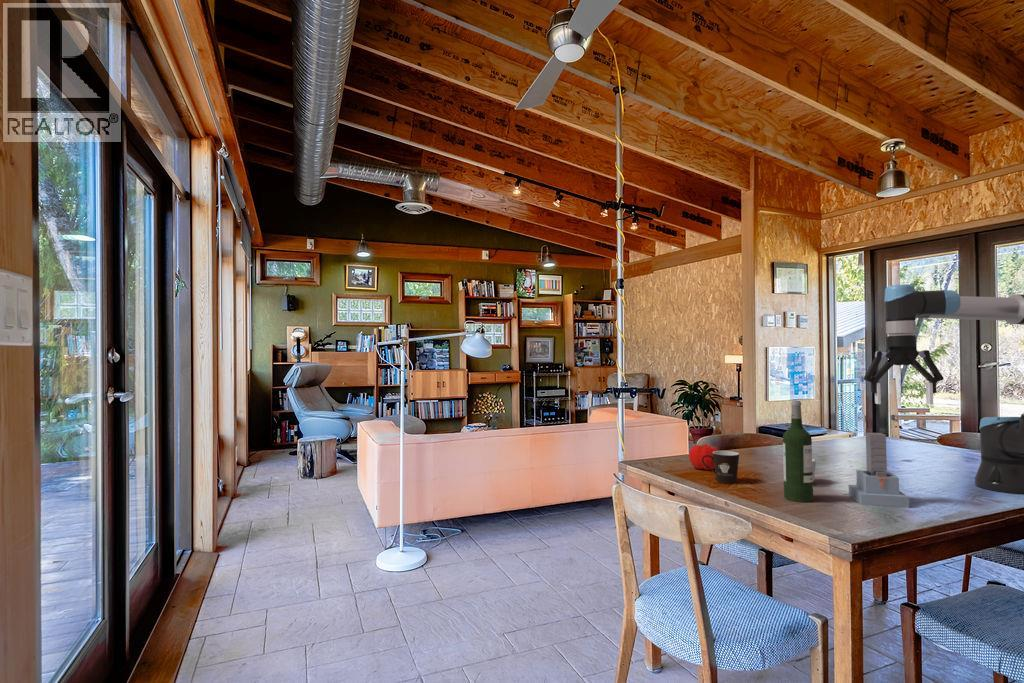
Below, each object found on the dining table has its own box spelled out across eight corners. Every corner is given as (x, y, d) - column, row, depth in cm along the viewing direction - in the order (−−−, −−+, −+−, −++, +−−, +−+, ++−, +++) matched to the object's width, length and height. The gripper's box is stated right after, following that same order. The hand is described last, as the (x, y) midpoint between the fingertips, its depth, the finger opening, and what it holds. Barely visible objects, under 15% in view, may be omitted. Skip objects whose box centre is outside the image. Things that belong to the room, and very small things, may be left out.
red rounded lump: (718, 473, 200) (717, 448, 200) (685, 469, 207) (685, 446, 207) (724, 467, 209) (723, 444, 209) (692, 464, 216) (692, 442, 216)
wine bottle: (815, 503, 159) (812, 402, 159) (785, 501, 161) (783, 401, 162) (810, 496, 166) (808, 399, 167) (782, 494, 169) (780, 399, 170)
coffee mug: (745, 482, 185) (744, 453, 185) (730, 486, 180) (729, 456, 181) (715, 476, 195) (715, 448, 195) (700, 479, 190) (700, 451, 190)
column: (882, 499, 162) (880, 433, 163) (888, 503, 158) (886, 435, 158) (867, 498, 163) (865, 432, 164) (872, 502, 159) (871, 434, 159)
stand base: (893, 496, 165) (892, 466, 165) (909, 507, 153) (908, 475, 154) (848, 494, 168) (847, 464, 168) (861, 504, 157) (860, 473, 157)
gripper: (943, 334, 165) (946, 403, 164) (851, 336, 172) (853, 402, 172) (955, 333, 158) (958, 405, 157) (858, 335, 165) (861, 404, 165)
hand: (903, 404), depth 165 cm, fingers open, 13 cm apart
